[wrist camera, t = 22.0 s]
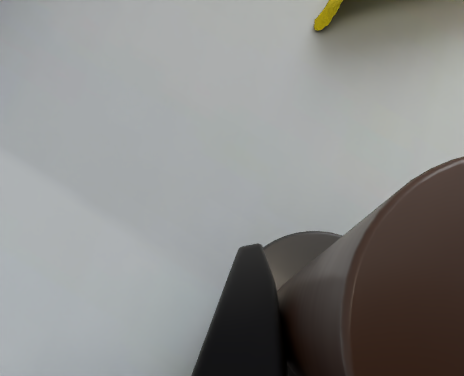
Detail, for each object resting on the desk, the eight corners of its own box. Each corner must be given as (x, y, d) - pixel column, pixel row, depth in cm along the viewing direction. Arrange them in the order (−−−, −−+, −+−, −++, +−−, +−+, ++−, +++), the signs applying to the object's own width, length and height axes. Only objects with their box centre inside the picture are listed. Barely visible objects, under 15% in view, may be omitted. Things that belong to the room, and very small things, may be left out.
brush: (359, 409, 13) (1153, 1053, 2) (218, 378, 14) (69, 734, 2) (374, 266, 14) (896, 69, 3) (244, 241, 15) (246, -23, 3)
